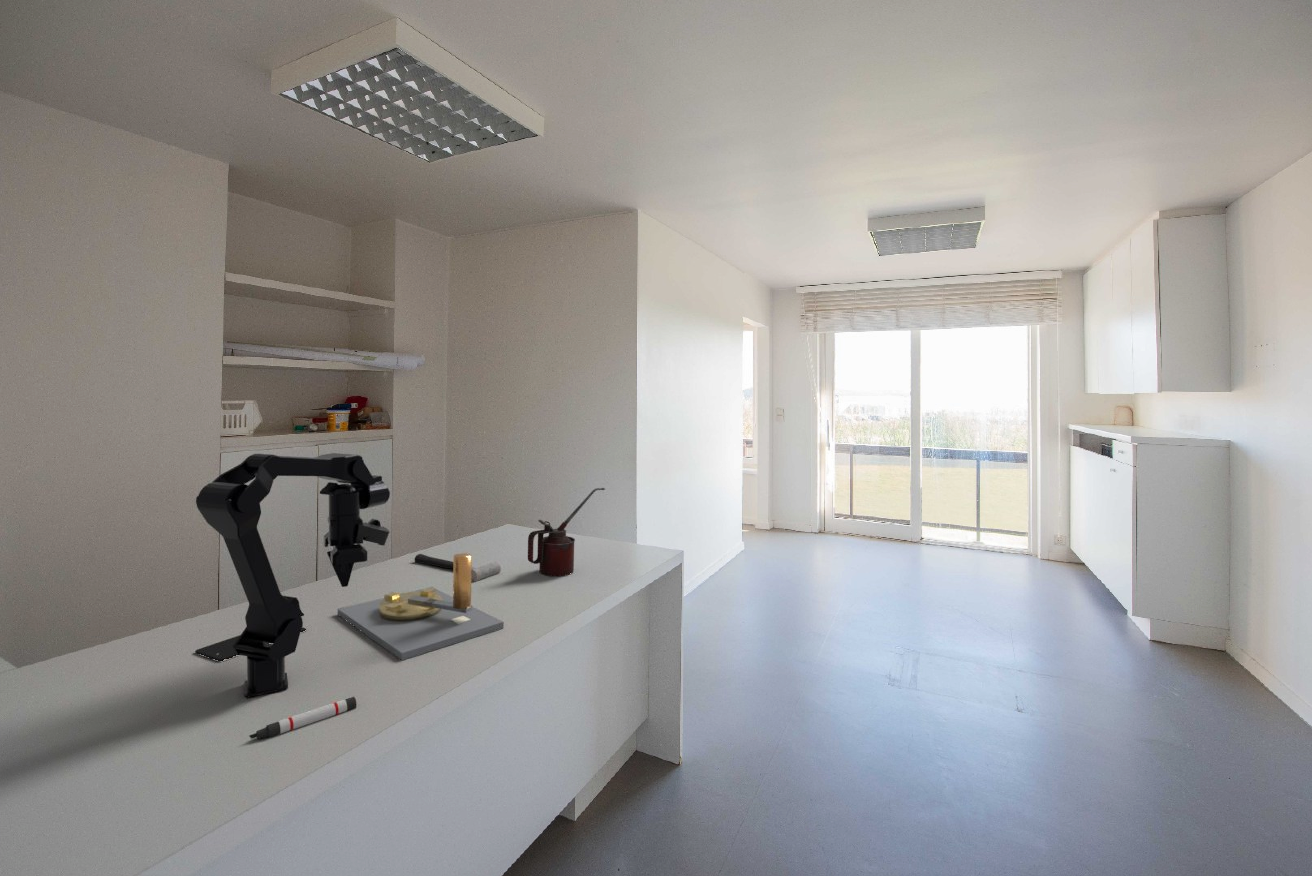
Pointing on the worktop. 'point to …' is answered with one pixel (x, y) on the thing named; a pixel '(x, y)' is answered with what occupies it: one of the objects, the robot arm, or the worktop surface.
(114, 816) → the worktop surface
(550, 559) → the oil can
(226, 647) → the cell phone
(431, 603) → the brass wheel crank mechanism
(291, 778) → the worktop surface
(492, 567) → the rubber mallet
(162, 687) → the worktop surface
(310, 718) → the marker
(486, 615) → the grey rectangular board
